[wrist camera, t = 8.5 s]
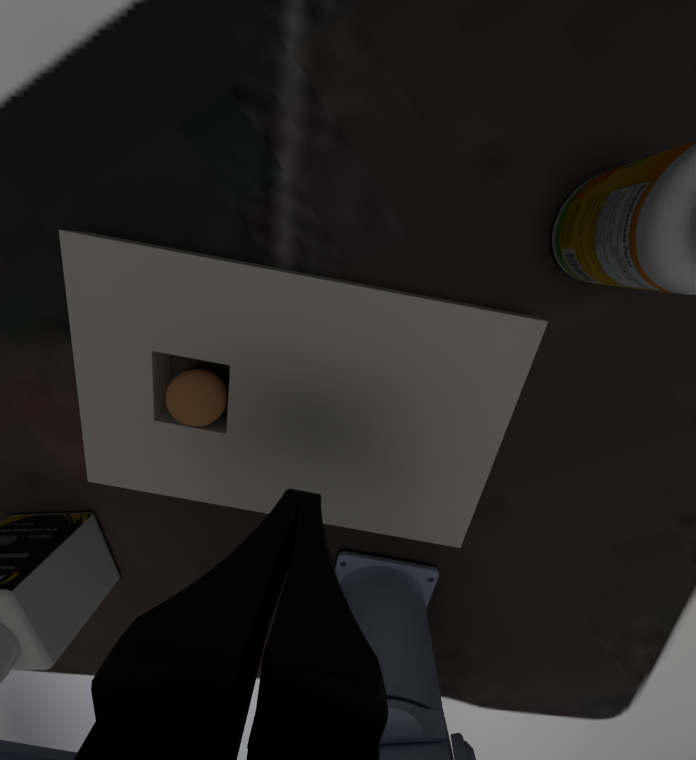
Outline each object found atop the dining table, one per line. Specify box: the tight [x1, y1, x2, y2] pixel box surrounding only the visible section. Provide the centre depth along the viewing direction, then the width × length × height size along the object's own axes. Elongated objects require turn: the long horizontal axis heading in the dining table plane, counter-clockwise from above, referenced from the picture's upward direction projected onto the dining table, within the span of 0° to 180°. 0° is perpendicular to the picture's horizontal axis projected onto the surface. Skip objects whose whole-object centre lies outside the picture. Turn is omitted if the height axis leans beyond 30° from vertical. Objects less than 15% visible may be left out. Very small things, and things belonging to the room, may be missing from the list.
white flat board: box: [59, 230, 548, 548], centre depth 21 cm, size 26×16×2 cm, turn 80°
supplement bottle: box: [552, 141, 696, 295], centre depth 14 cm, size 5×5×10 cm
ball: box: [166, 369, 228, 426], centre depth 21 cm, size 4×4×4 cm
